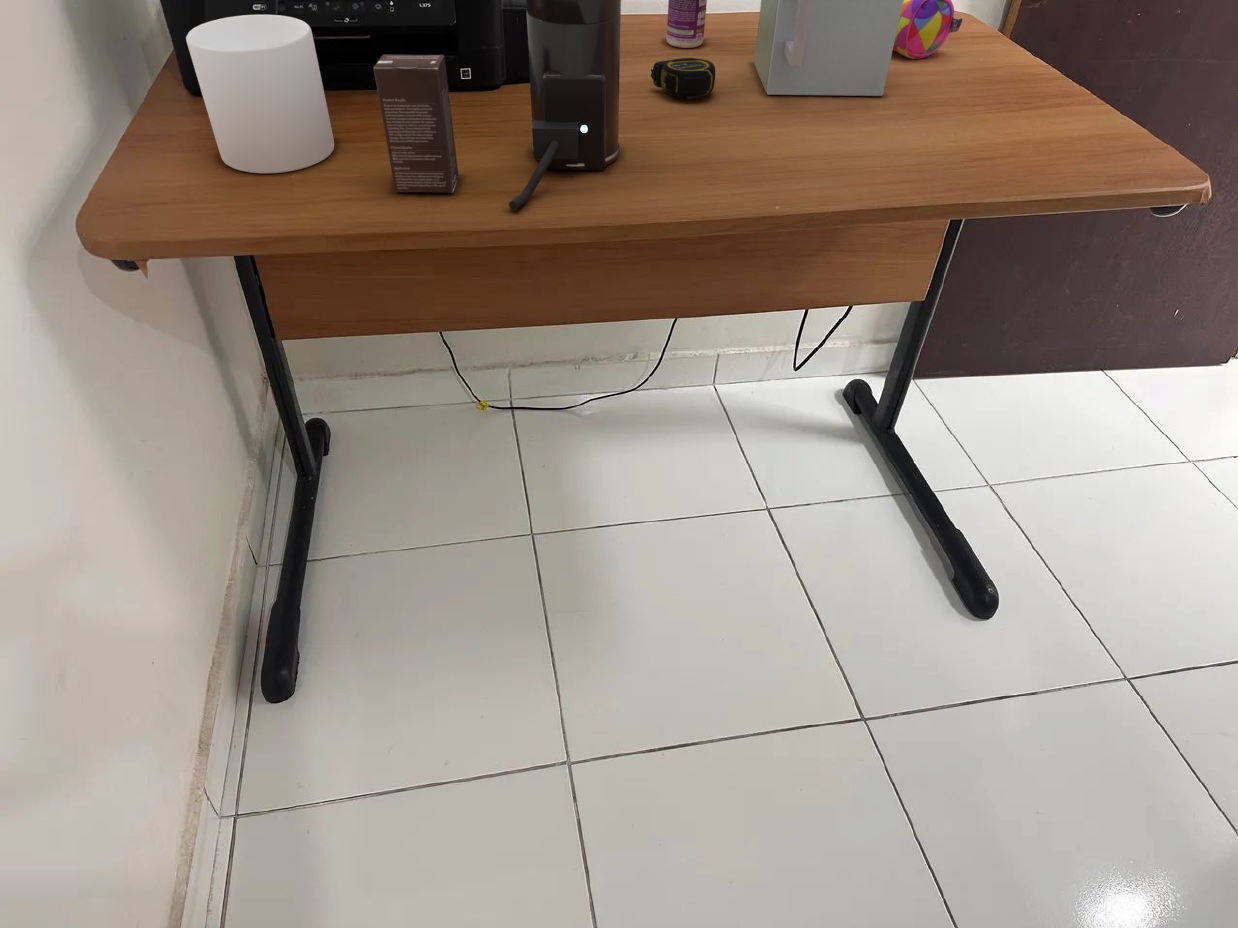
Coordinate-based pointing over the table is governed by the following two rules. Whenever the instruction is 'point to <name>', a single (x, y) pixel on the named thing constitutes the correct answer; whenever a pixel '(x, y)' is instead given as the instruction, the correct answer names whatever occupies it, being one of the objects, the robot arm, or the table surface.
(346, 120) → the table surface
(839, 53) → the cabinet door
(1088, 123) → the table surface
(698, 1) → the pill bottle
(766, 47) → the cabinet
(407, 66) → the box
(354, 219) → the table surface
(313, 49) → the white cylinder
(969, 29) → the table surface
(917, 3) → the colorful pencil case
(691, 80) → the tape measure
